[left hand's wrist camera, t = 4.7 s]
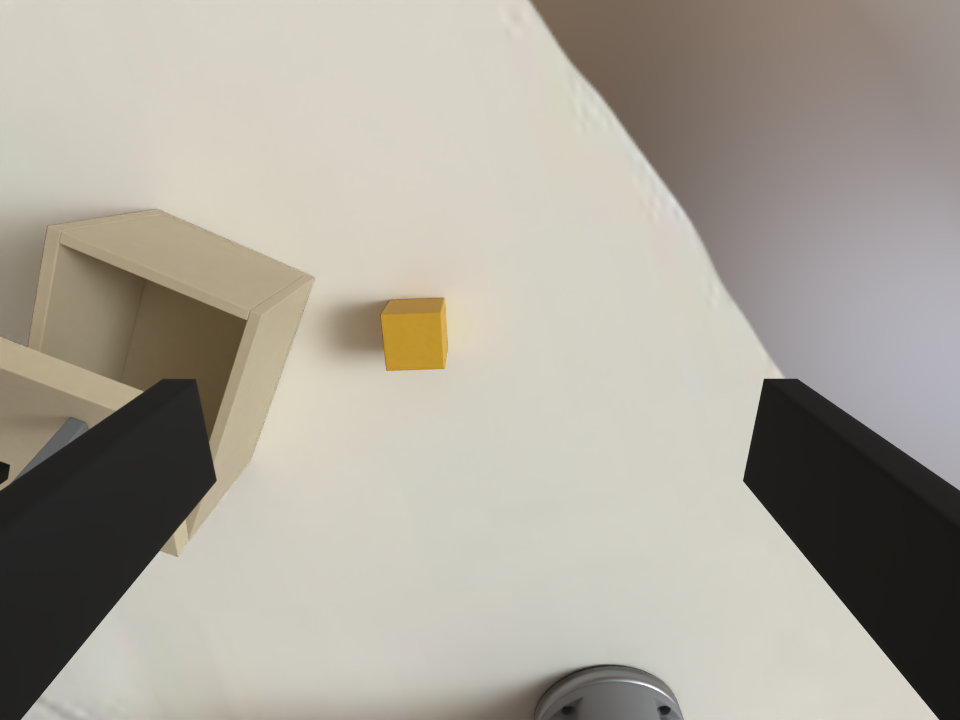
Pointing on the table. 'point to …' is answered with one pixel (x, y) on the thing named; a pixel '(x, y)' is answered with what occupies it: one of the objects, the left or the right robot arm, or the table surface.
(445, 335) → the block
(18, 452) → the lid
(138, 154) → the table surface
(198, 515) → the chest
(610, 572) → the table surface
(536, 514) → the table surface
